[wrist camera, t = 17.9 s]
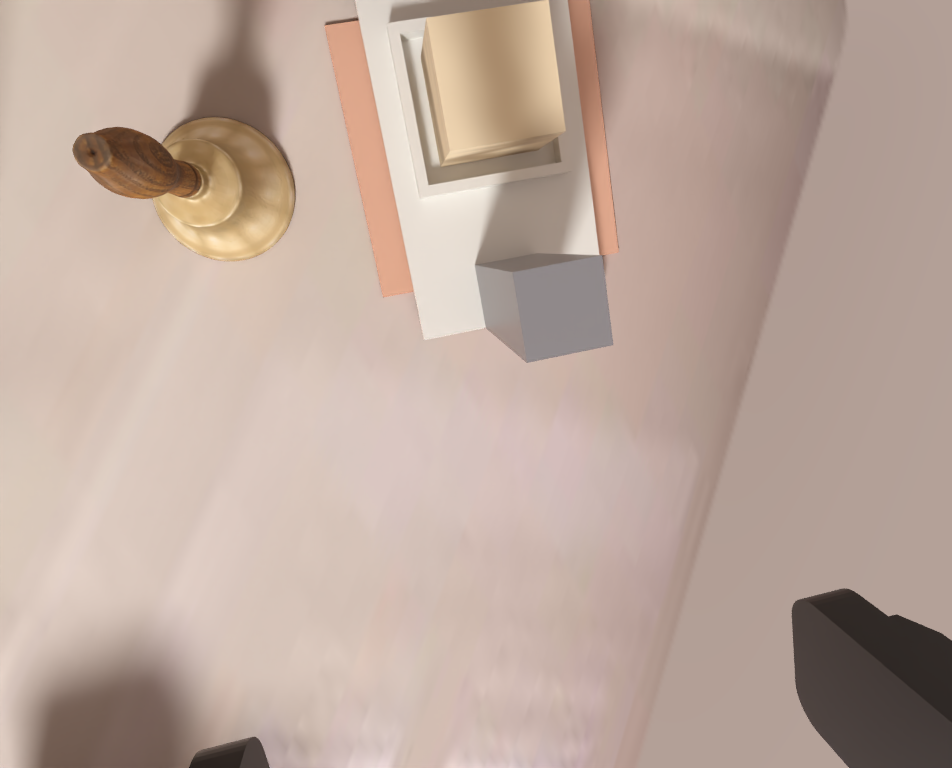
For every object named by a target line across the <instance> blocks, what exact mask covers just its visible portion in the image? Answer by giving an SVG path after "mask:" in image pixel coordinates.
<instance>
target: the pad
mask: <svg viewBox="0 0 952 768" xmlns="http://www.w3.org/2000/svg"><path fill="white" fill-rule="evenodd" d="M568 7H569V15H570V23H571V31H572V39H573V47H574V55H575V63H576V71H577V79H578V87H579V95H580V103H581V111H582V119H583V127H584V135H585V143H586V151H587V159H588V167H589V176H590V184H591V192H592V200H593V208H594V216H595V224H596V232H597V240H598V248H599V255H607V254H612V253H617V252H619V251H618V242H617V234H616V225H615V216H614V208H613V199H612V191H611V182H610V174H609V165H608V156H607V148H606V139H605V131H604V122H603V114H602V105H601V96H600V88H599V79H598V71H597V62H596V54H595V45H594V36H593V28H592V19H591V11H590V2H589V0H568ZM324 26H325V30H326V35H327V39H328V44H329V49H330V53H331V58H332V63H333V67H334V72H335V76H336V81H337V86H338V90H339V95H340V100H341V104H342V109H343V113H344V118H345V123H346V127H347V132H348V137H349V141H350V146H351V150H352V155H353V160H354V164H355V169H356V174H357V178H358V183H359V187H360V192H361V197H362V201H363V206H364V211H365V215H366V220H367V224H368V229H369V234H370V238H371V243H372V248H373V252H374V257H375V261H376V266H377V271H378V275H379V280H380V285H381V289H382V294H383V297H388V296H393V295H398V294H403V293H409V292H414V290H413V285H412V280H411V275H410V270H409V265H408V261H407V256H406V251H405V246H404V241H403V236H402V231H401V226H400V221H399V216H398V211H397V206H396V201H395V197H394V192H393V187H392V182H391V177H390V172H389V167H388V162H387V157H386V152H385V147H384V142H383V137H382V133H381V128H380V123H379V118H378V113H377V108H376V103H375V98H374V93H373V88H372V83H371V78H370V73H369V69H368V64H367V59H366V54H365V49H364V44H363V39H362V34H361V29H360V24H359V20H358V21H351V22H344V23H338V24H331V25H324Z"/></svg>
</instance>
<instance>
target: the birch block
mask: <svg viewBox="0 0 952 768" xmlns="http://www.w3.org/2000/svg"><path fill="white" fill-rule="evenodd" d="M421 63H422V68H423V74H424V79H425V85H426V90H427V96H428V101H429V107H430V112H431V118H432V123H433V129H434V134H435V139H436V145H437V150H438V156H439V161H440V167H444V166H450V165H456V164H462V163H468V162H473V161H479V160H485V159H491V158H496V157H502V156H508V155H514V154H520V153H525V152H531V151H537V150H539V149H541V148H542V147H543V146H545V145H546V144H548V143H549V142H551V141H552V140H554V139H555V138H557V137H558V136H560V135H561V134H562V133H564V132H565V131H566V129H565V121H564V113H563V106H562V98H561V91H560V83H559V75H558V68H557V60H556V53H555V45H554V37H553V30H552V22H551V15H550V7H549V0H543V1H536V2H529V3H523V4H516V5H509V6H502V7H496V8H489V9H482V10H476V11H469V12H462V13H456V14H449V15H442V16H435V17H429V18H426V23H425V30H424V37H423V44H422V51H421Z"/></svg>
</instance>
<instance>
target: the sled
mask: <svg viewBox="0 0 952 768" xmlns="http://www.w3.org/2000/svg"><path fill="white" fill-rule="evenodd" d="M536 1H543V0H355V5H356V9H357V14H358V19H359V24H360V29H361V34H362V39H363V44H364V49H365V54H366V59H367V64H368V69H369V73H370V78H371V83H372V88H373V93H374V98H375V103H376V108H377V113H378V118H379V123H380V128H381V133H382V137H383V142H384V147H385V152H386V157H387V162H388V167H389V172H390V177H391V182H392V187H393V192H394V197H395V201H396V206H397V211H398V216H399V221H400V226H401V231H402V236H403V241H404V246H405V251H406V256H407V261H408V265H409V270H410V275H411V280H412V285H413V290H414V295H415V300H416V305H417V310H418V315H419V320H420V325H421V329H422V334H423V338H424V340H428V339H433V338H438V337H443V336H448V335H453V334H458V333H463V332H468V331H473V330H478V329H483V328H486V329H488V330H489V331H490V332H491V333H492V334H494V335H495V336H496V337H497V338H498V339H499V340H501V341H502V342H503V343H504V344H505V345H507V346H508V347H509V348H510V349H511V350H512V351H514V352H515V353H516V354H517V355H518V356H520V357H521V358H522V359H523V360H524V361H525V362H527V363H528V362H533V361H538V360H543V359H548V358H553V357H558V356H562V355H567V354H572V353H577V352H582V351H587V350H591V349H596V348H601V347H606V346H611V345H613V339H612V331H611V322H610V314H609V306H608V298H607V290H606V282H605V274H604V266H603V258H602V255H599V248H598V240H597V232H596V224H595V216H594V208H593V200H592V192H591V184H590V176H589V167H588V159H587V151H586V143H585V135H584V127H583V119H582V111H581V103H580V95H579V87H578V79H577V71H576V63H575V55H574V47H573V39H572V31H571V23H570V15H569V7H568V0H549V7H550V15H551V22H552V30H553V37H554V45H555V53H556V60H557V68H558V75H559V83H560V91H561V98H562V106H563V113H564V121H565V129H566V131H565V132H564V133H562V134H561V135H560V136H558V137H557V138H555V139H554V140H552V141H551V142H549V143H548V144H546V145H545V146H543V147H542V148H541V149H539V150H537V151H531V152H525V153H520V154H514V155H508V156H502V157H496V158H491V159H485V160H479V161H473V162H468V163H462V164H456V165H450V166H444V167H440V161H439V156H438V150H437V145H436V139H435V134H434V129H433V123H432V118H431V112H430V107H429V101H428V96H427V90H426V85H425V79H424V74H423V68H422V63H421V51H422V44H423V37H424V30H425V23H426V18H429V17H435V16H442V15H449V14H456V13H462V12H469V11H476V10H482V9H489V8H496V7H502V6H509V5H516V4H523V3H529V2H536Z"/></svg>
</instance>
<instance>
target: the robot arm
mask: <svg viewBox="0 0 952 768" xmlns="http://www.w3.org/2000/svg"><path fill="white" fill-rule="evenodd" d="M792 625H793V643H794V663H795V679H796V680H795V682H796V689H797V693H798V696H799V700H800V702H801V705H802V707H803V709H804V711H805V713H806V715H807V717H808V719H809V720H810V722H811V724H812V725H813V726H814V728H815V729H816V730H817V732H818V733H819V734H820V735H821V736H822V738H823V739H824V740H825V741H826V742H827V743H828V744H829V745H830V746H831V748H832V749H833V750H834V751H835V752H836V753H837V755H838V756H839V757H840V758H841V759H842V760H843V761H844V763H845V764H846V765H847V766H848V767H849V768H952V641H951V640H950V639H948V638H947V637H946V636H944V635H943V634H941V633H939V632H937V631H935V630H932V629H930V628H927V627H925V626H923V625H920V624H918V623H916V622H913V621H911V620H908V619H906V618H904V617H901V616H899V615H893V616H889V617H888V616H887V615H886V614H884V613H883V612H881V611H880V610H879V609H878V608H876V607H875V606H874V605H872V604H871V603H869V602H868V601H867V600H865V599H864V598H863V597H861V596H860V595H858V594H857V593H855V592H854V591H852V590H850V589H839V590H835V591H831V592H827V593H824V594H819V595H815V596H812V597H808V598H804V599H800V600H797V601H796V602H795V603H794V605H793V608H792ZM189 768H270V767H269V764H268V761H267V758H266V755H265V752H264V749H263V746H262V744H261V742H260V741H259V739H258V738H256V737H251V738H247V739H243V740H239V741H235V742H231V743H227V744H223V745H220V746H216V747H212V748H208V749H204V750H201V751H199V752H198V753H197V754H196V755H195V756H194V758H193V760H192V762H191V764H190V767H189Z"/></svg>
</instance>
